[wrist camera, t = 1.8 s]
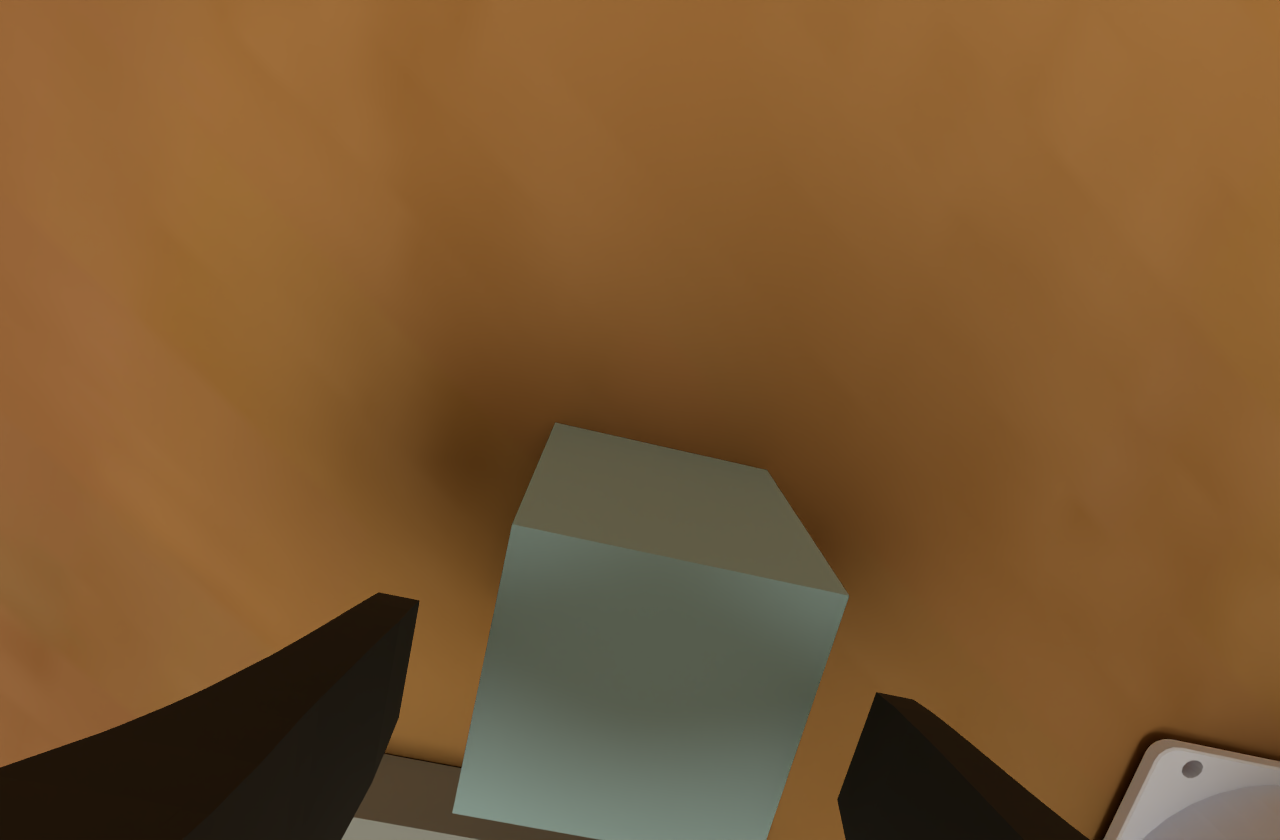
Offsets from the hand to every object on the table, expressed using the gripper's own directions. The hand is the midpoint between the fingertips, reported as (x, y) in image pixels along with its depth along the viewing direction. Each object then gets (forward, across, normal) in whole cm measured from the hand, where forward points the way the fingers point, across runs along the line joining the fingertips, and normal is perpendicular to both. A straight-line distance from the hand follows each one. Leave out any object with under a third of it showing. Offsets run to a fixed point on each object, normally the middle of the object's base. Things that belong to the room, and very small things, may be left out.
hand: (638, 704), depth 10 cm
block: (+6, 0, 0) cm, 6 cm away
